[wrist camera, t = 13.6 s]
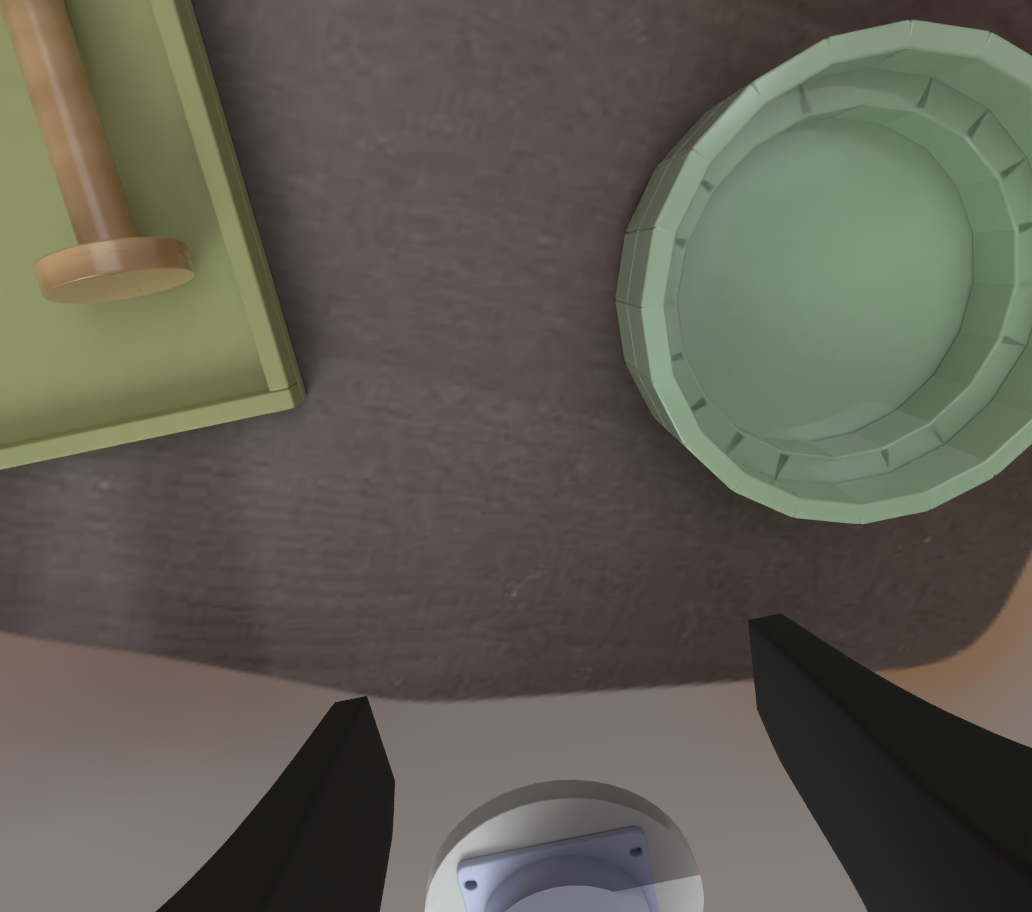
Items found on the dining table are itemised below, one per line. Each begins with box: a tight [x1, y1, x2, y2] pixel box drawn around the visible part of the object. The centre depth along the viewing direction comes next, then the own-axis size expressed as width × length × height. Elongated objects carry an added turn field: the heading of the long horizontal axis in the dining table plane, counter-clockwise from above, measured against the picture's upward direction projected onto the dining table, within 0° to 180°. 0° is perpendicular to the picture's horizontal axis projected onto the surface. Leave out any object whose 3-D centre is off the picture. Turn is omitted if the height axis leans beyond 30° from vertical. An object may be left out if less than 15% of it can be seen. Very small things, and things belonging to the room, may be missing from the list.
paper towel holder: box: [0, 0, 195, 304], centre depth 18 cm, size 4×4×9 cm
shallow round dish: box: [616, 20, 1032, 524], centre depth 19 cm, size 12×12×4 cm
